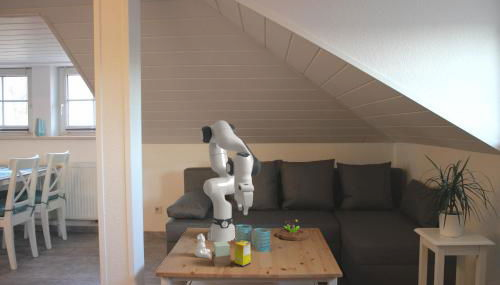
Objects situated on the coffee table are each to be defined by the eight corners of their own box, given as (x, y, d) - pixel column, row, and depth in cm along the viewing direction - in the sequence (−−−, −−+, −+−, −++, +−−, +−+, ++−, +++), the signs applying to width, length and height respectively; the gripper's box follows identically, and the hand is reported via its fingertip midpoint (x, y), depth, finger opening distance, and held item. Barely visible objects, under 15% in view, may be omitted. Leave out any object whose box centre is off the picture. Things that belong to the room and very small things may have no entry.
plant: (300, 243, 216) (300, 224, 216) (271, 237, 227) (271, 219, 226) (312, 234, 234) (313, 217, 233) (285, 230, 244) (285, 213, 243)
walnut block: (211, 261, 185) (211, 251, 185) (226, 259, 187) (226, 250, 187) (214, 267, 177) (214, 257, 177) (230, 265, 179) (230, 255, 179)
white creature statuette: (210, 258, 188) (210, 236, 187) (193, 259, 187) (194, 236, 186) (210, 252, 197) (210, 230, 197) (194, 253, 196) (194, 231, 196)
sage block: (213, 251, 184) (213, 242, 184) (226, 250, 186) (226, 241, 186) (215, 256, 178) (216, 246, 177) (229, 255, 180) (229, 245, 179)
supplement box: (241, 260, 185) (242, 239, 185) (250, 263, 181) (251, 242, 181) (234, 264, 181) (234, 242, 180) (243, 267, 177) (243, 245, 176)
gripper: (231, 182, 189) (231, 208, 189) (242, 188, 169) (242, 217, 170) (243, 181, 191) (242, 207, 191) (255, 187, 171) (254, 216, 172)
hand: (242, 212), depth 180 cm, fingers open, 8 cm apart
